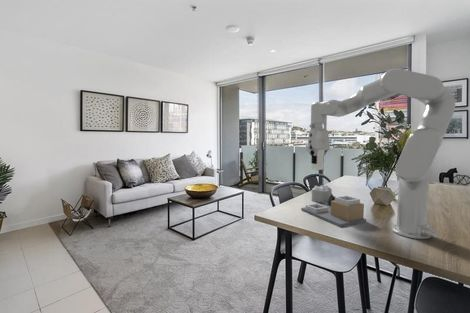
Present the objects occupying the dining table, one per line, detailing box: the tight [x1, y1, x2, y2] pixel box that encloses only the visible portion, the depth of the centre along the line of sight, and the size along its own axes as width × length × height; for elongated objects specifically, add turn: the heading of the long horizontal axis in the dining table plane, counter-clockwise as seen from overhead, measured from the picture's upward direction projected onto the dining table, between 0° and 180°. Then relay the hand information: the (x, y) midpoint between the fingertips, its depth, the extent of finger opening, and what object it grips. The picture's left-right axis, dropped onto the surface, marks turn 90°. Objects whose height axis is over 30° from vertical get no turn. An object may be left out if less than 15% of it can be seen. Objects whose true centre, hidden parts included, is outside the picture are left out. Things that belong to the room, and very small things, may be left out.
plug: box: [311, 150, 325, 171], centre depth 121 cm, size 5×4×10 cm
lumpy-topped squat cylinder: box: [311, 184, 333, 204], centre depth 146 cm, size 10×13×9 cm
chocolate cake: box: [326, 193, 336, 207], centre depth 131 cm, size 10×7×12 cm
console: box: [301, 195, 367, 228], centre depth 117 cm, size 26×16×10 cm, turn 23°
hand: (317, 162), depth 120 cm, fingers closed on plug, 4 cm apart
